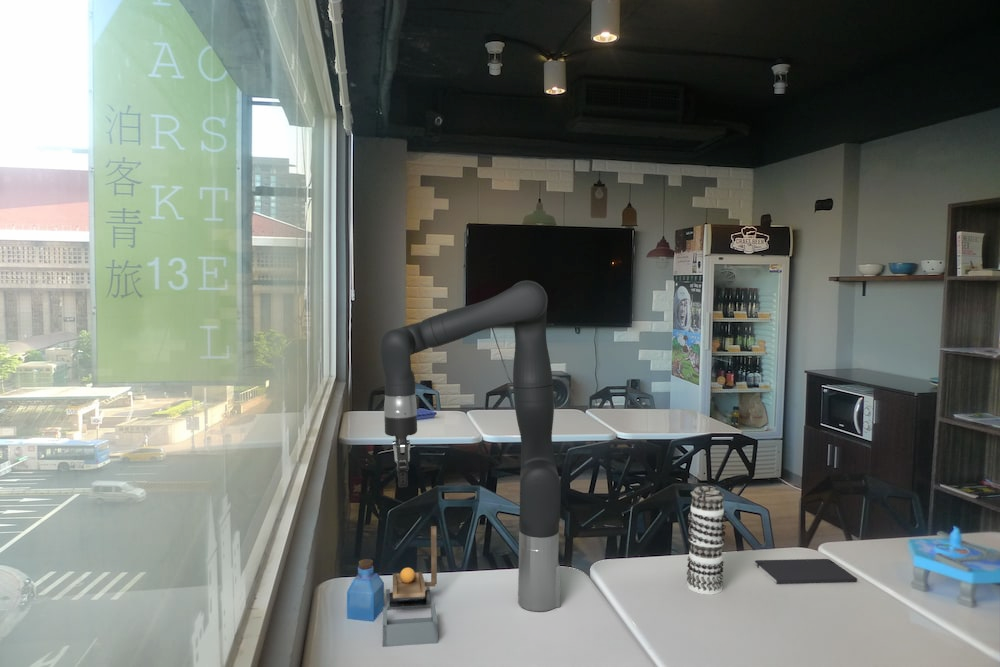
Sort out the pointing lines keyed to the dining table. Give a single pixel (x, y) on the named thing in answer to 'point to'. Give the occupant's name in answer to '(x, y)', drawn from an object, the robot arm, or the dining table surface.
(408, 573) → the ball
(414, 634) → the tray
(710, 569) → the decorative candle
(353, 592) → the perfume bottle
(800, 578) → the notebook
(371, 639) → the dining table surface
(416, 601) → the fulcrum
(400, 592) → the lever
